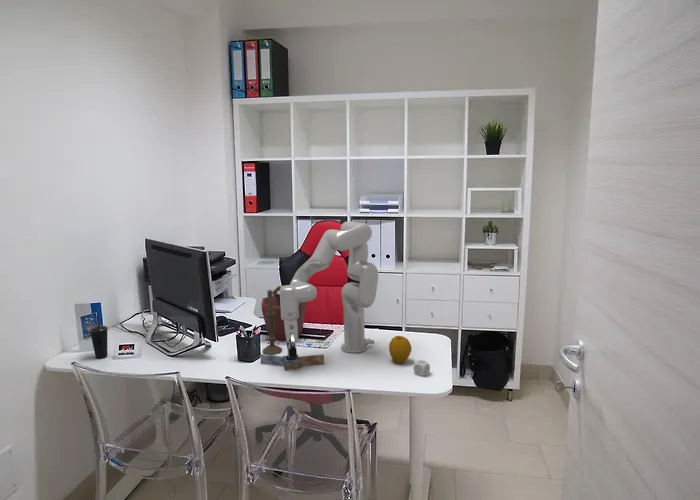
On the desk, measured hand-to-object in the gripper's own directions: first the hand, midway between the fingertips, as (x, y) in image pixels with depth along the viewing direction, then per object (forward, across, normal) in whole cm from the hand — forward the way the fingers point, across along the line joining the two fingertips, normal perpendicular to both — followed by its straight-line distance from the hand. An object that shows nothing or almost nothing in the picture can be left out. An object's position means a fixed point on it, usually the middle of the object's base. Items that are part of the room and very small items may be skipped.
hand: (291, 352), depth 218 cm
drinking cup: (+6, +32, +84) cm, 90 cm away
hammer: (+6, +2, 0) cm, 7 cm away
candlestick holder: (+7, +20, +7) cm, 22 cm away
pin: (+6, 0, 0) cm, 6 cm away
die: (+7, -20, -52) cm, 56 cm away
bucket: (+7, +40, -1) cm, 40 cm away
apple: (+7, -6, -47) cm, 48 cm away
